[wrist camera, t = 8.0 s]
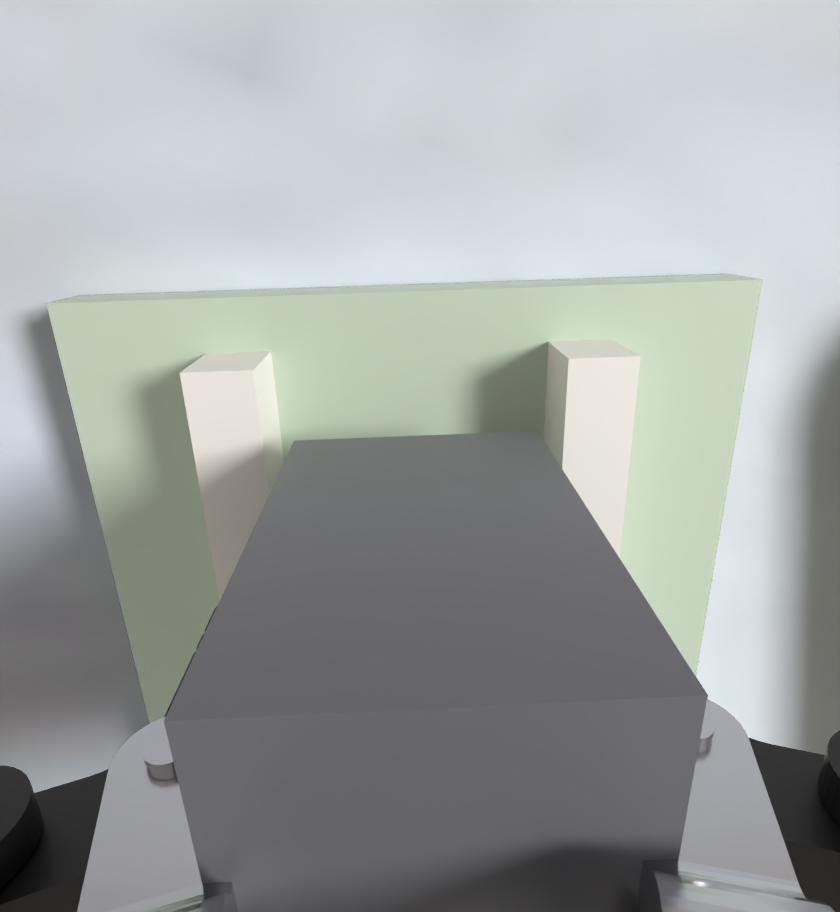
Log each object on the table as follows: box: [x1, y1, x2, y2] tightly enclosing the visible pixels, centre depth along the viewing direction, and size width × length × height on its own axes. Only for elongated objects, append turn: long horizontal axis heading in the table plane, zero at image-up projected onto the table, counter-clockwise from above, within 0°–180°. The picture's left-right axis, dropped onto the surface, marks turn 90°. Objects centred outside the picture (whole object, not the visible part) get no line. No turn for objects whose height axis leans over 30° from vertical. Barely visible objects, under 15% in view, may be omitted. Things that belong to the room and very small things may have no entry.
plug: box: [164, 431, 708, 912], centre depth 8 cm, size 6×4×6 cm, turn 2°
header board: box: [46, 274, 762, 724], centre depth 13 cm, size 18×13×6 cm
